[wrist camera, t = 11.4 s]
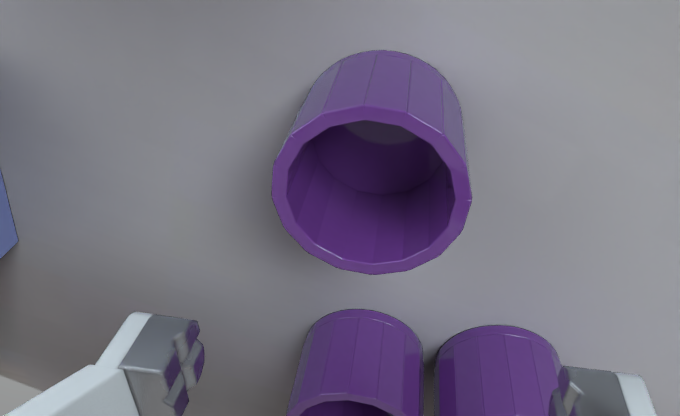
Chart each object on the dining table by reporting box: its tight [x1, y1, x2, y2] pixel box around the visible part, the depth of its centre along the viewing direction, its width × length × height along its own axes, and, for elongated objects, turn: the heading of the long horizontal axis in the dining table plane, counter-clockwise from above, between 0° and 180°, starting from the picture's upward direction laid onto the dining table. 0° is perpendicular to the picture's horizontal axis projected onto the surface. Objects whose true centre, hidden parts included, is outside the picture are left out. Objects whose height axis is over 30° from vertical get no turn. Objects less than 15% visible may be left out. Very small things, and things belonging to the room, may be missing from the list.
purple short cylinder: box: [271, 50, 472, 275], centre depth 19 cm, size 6×6×5 cm
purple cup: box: [286, 309, 424, 416], centre depth 26 cm, size 6×6×5 cm
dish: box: [434, 325, 562, 416], centre depth 25 cm, size 6×6×5 cm
